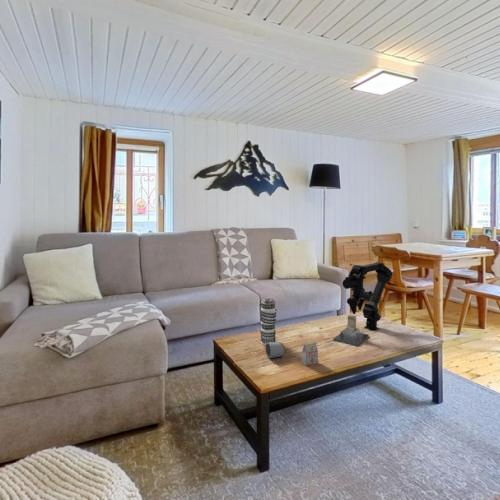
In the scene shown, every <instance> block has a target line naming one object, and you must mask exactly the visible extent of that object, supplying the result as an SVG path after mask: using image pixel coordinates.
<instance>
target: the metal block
mask: <svg viewBox="0 0 500 500" xmlns="http://www.w3.org/2000/svg"><path fill="white" fill-rule="evenodd" d="M346 327H347V330H350V331H354V332H355V331H356V328H357V315H356V314H348V315H347V326H346Z"/></svg>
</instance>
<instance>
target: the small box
mask: <svg viewBox="0 0 500 500" xmlns="http://www.w3.org/2000/svg"><path fill="white" fill-rule="evenodd" d="M318 363H319V351H318V346H317V341H315V342H310V343H305V344H303V347H302V350H301V364H303V365H304V366H306V367H307V366H313V365H316V364H318Z"/></svg>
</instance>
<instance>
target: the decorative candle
mask: <svg viewBox="0 0 500 500" xmlns="http://www.w3.org/2000/svg"><path fill="white" fill-rule="evenodd" d="M260 303H261V305H260V307H261V308H260V309H259V315H260V324H261V327H260V343H261V345H263V346H266V344H267V343H269V342H277V339H276V338H277V337H276V332H277V331H276V323H277V322H276V321H277V312H276V311H277V309H276V303H277V302H276V301H275V299H273V298H271V297H270V298H269V297H266V298H263V299H262V301H260Z"/></svg>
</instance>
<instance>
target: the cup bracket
mask: <svg viewBox="0 0 500 500" xmlns="http://www.w3.org/2000/svg"><path fill="white" fill-rule="evenodd" d="M347 327H348V326H345V328H343V330H341V331H340V333H339V334H337V335H336V336H334V338H333V341H334V342H339V343H343V344H346V345H350V346H354V347H359V346H360V345H361V344H362V343H363V342H364V341H365V340H366V339H367V338H369V336H370V335H369V334H367V333H364V332H360V330H361V328H359V327H358V328H357V327H356V331H355V332H354V331H350V330H347Z"/></svg>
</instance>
